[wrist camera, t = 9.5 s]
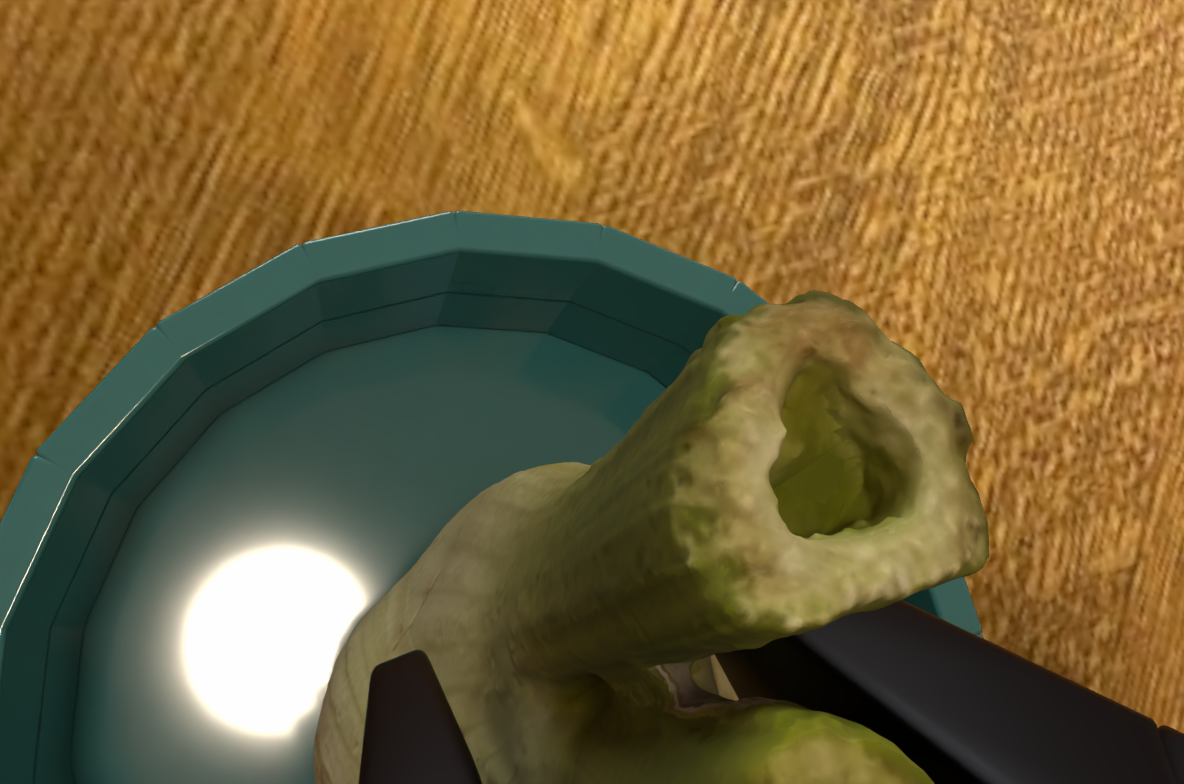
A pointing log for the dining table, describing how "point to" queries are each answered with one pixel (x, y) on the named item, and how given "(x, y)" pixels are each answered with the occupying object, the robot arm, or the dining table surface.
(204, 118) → the dining table surface
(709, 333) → the fennel bulb
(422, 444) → the pan
